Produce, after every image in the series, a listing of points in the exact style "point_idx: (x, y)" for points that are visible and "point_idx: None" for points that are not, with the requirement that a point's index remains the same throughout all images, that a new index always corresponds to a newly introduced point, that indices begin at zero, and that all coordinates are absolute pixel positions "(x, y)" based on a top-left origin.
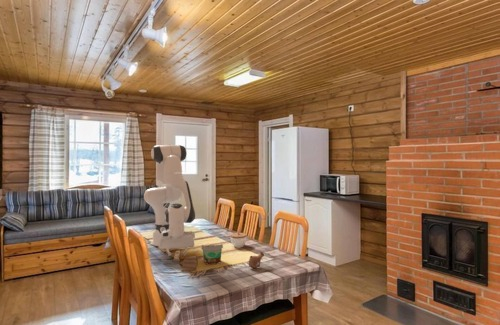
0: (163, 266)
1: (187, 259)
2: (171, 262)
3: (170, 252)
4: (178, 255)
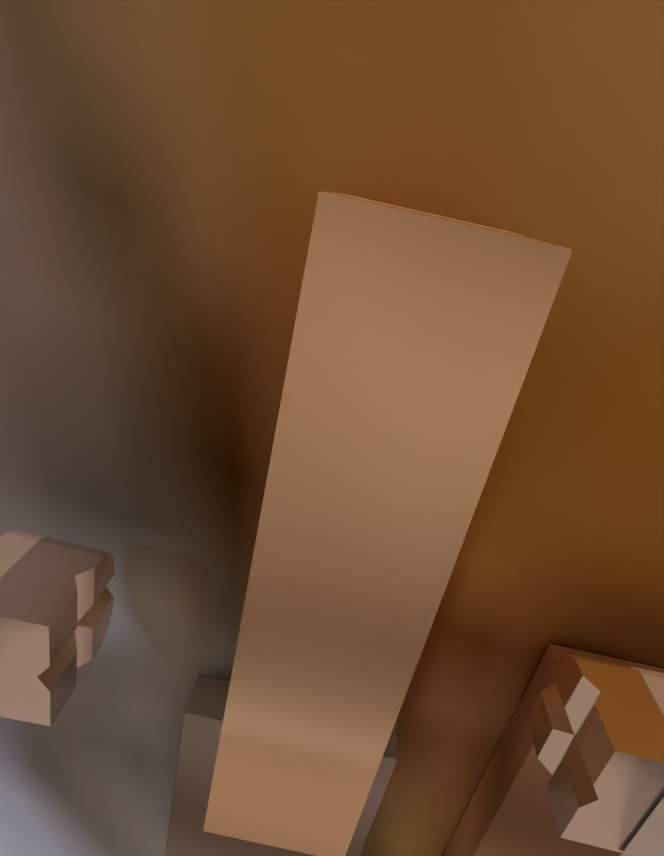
0: (36, 849)
1: (573, 854)
2: (171, 854)
3: (15, 636)
4: (355, 820)
